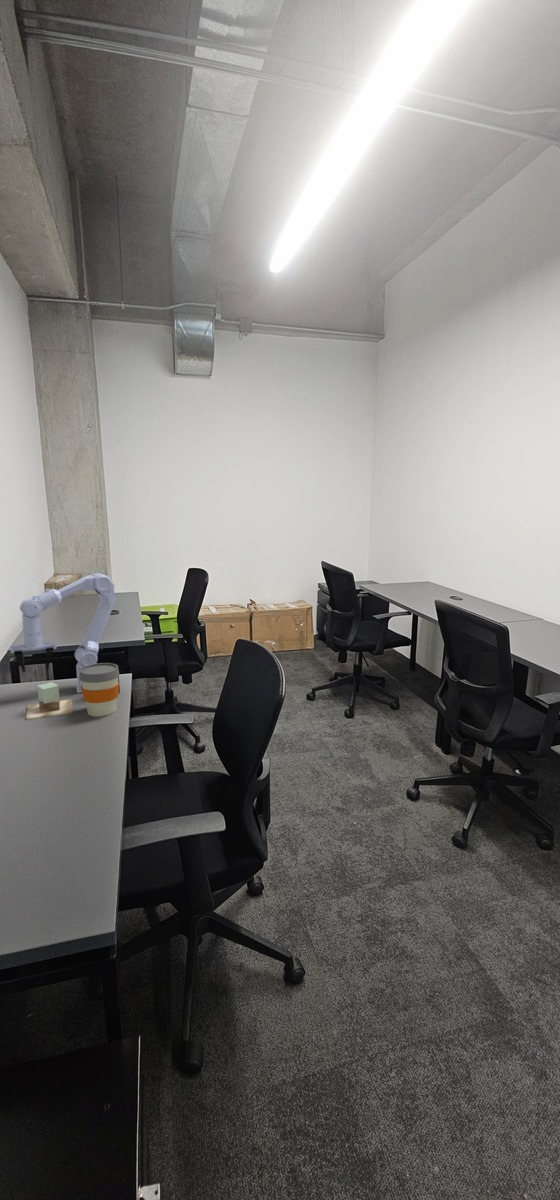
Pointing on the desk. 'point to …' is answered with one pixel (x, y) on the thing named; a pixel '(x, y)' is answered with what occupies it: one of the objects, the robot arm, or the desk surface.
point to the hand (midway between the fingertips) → (35, 670)
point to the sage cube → (48, 692)
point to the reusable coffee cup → (100, 688)
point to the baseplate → (36, 709)
